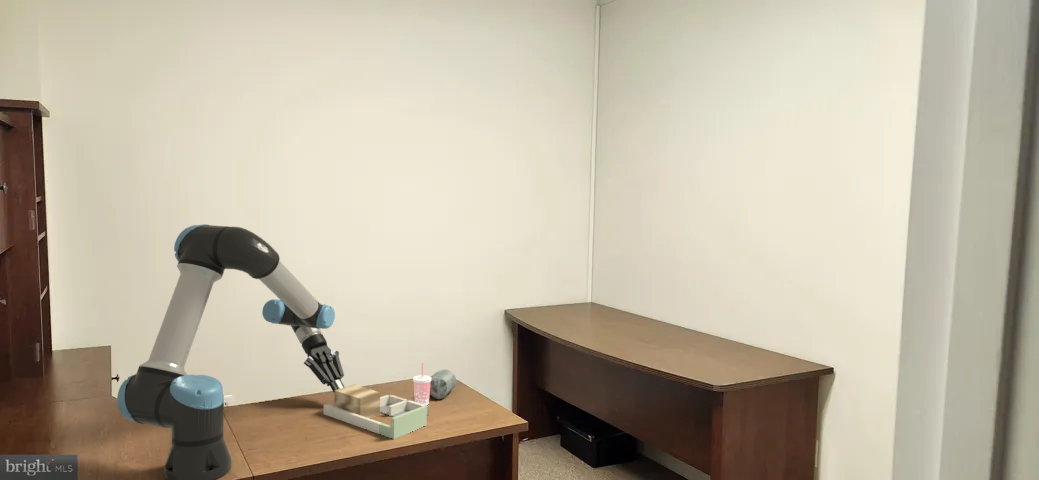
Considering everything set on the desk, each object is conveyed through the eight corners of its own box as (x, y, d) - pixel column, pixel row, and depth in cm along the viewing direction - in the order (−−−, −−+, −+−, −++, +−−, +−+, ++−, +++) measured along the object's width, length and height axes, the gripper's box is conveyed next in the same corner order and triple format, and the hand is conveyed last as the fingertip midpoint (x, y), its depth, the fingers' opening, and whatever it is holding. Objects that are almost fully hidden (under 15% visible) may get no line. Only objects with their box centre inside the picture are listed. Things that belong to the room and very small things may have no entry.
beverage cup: (433, 406, 219) (433, 364, 218) (414, 408, 217) (415, 366, 216) (428, 400, 225) (429, 359, 224) (410, 402, 223) (411, 361, 222)
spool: (449, 394, 222) (440, 365, 225) (425, 404, 225) (416, 375, 227) (466, 392, 235) (457, 365, 238) (443, 401, 237) (434, 374, 240)
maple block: (334, 413, 211) (334, 390, 210) (354, 406, 217) (354, 384, 216) (360, 422, 204) (360, 398, 203) (379, 415, 210) (380, 392, 209)
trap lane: (323, 414, 209) (323, 395, 209) (373, 397, 226) (373, 380, 225) (393, 439, 191) (394, 418, 191) (442, 419, 208) (442, 400, 207)
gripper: (322, 341, 230) (354, 400, 222) (289, 349, 219) (322, 410, 211) (332, 329, 226) (365, 388, 218) (300, 336, 216) (333, 398, 208)
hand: (344, 399), depth 215 cm, fingers closed
